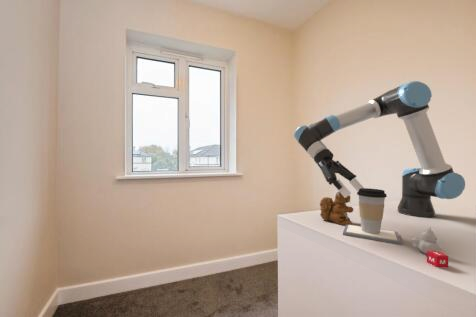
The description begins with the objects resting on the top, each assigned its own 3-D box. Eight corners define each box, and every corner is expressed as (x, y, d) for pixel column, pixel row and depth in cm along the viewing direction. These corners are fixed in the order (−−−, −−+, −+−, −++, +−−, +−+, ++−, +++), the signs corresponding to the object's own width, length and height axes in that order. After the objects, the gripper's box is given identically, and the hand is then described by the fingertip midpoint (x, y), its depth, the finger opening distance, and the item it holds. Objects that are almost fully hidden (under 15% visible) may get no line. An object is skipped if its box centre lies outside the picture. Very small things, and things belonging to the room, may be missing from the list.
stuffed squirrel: (352, 226, 92) (352, 194, 92) (315, 221, 99) (316, 190, 99) (354, 221, 100) (355, 191, 100) (320, 216, 108) (321, 188, 108)
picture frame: (397, 234, 84) (397, 231, 84) (401, 244, 73) (401, 241, 73) (346, 226, 92) (346, 223, 92) (342, 234, 82) (343, 231, 82)
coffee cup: (377, 227, 87) (378, 188, 87) (391, 236, 78) (392, 192, 78) (351, 226, 88) (352, 187, 88) (362, 234, 79) (363, 191, 79)
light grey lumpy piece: (440, 259, 63) (441, 230, 63) (410, 252, 67) (411, 225, 67) (441, 254, 67) (442, 226, 67) (412, 247, 71) (413, 221, 71)
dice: (448, 267, 58) (448, 256, 58) (436, 267, 58) (437, 256, 58) (437, 262, 61) (437, 251, 61) (426, 262, 61) (426, 251, 61)
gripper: (329, 160, 108) (362, 196, 97) (297, 159, 92) (332, 203, 81) (340, 149, 104) (376, 185, 93) (309, 146, 88) (348, 190, 77)
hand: (356, 194), depth 87 cm, fingers open, 13 cm apart
